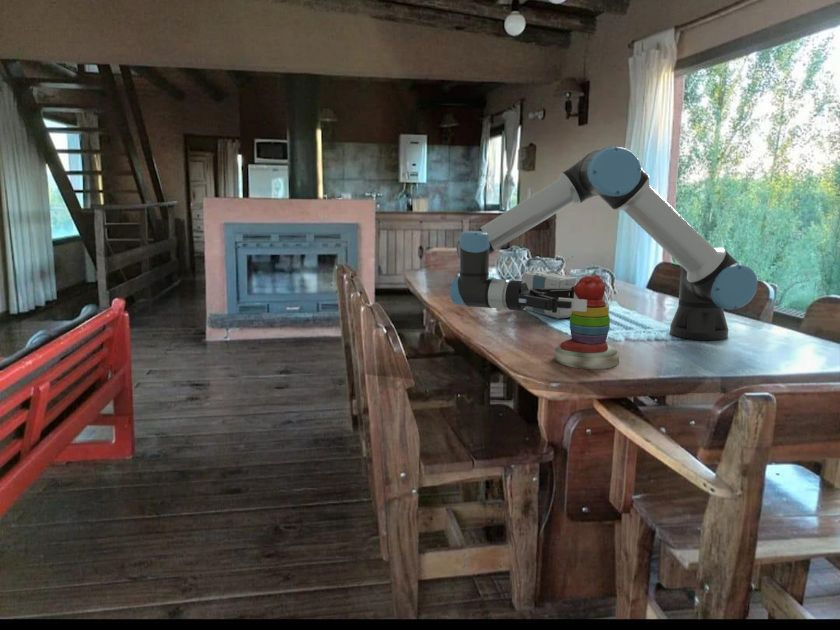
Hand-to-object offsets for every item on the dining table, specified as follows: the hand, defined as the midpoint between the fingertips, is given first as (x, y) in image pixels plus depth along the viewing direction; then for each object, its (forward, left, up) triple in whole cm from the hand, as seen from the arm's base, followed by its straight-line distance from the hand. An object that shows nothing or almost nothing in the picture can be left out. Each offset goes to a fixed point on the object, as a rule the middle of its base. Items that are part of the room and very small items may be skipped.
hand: (593, 301), depth 152 cm
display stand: (+1, 0, -15) cm, 15 cm away
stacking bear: (+1, -1, -12) cm, 12 cm away
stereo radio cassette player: (+18, -58, -15) cm, 63 cm away
